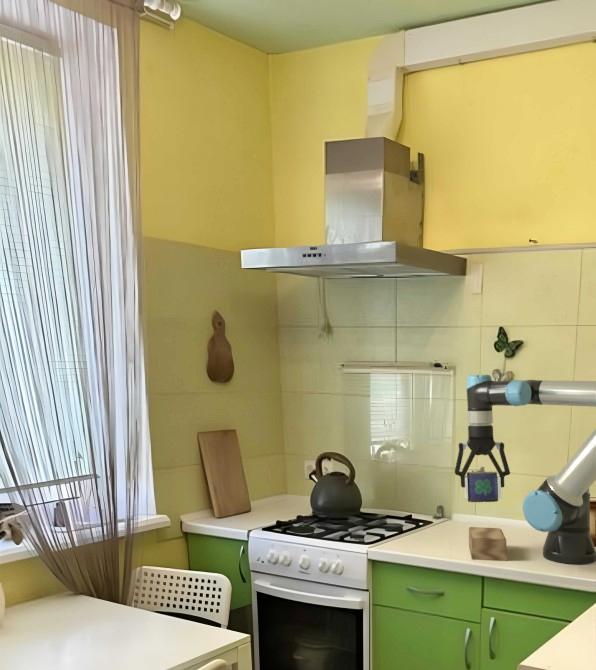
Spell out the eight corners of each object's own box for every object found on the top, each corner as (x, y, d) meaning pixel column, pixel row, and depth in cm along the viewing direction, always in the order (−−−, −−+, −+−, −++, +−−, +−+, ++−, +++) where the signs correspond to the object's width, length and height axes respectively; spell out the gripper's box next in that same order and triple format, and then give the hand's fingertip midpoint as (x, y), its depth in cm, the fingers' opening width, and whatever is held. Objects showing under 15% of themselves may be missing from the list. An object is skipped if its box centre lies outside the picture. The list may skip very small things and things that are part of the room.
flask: (497, 500, 233) (495, 465, 233) (499, 502, 230) (498, 466, 230) (467, 501, 233) (465, 466, 233) (469, 502, 230) (467, 467, 230)
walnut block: (501, 548, 238) (501, 527, 238) (506, 560, 222) (506, 539, 222) (468, 546, 240) (468, 526, 240) (471, 559, 224) (471, 537, 224)
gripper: (515, 423, 235) (517, 496, 233) (443, 424, 238) (446, 496, 236) (518, 424, 227) (521, 500, 226) (445, 425, 231) (447, 500, 229)
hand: (482, 498), depth 231 cm, fingers closed on flask, 9 cm apart
